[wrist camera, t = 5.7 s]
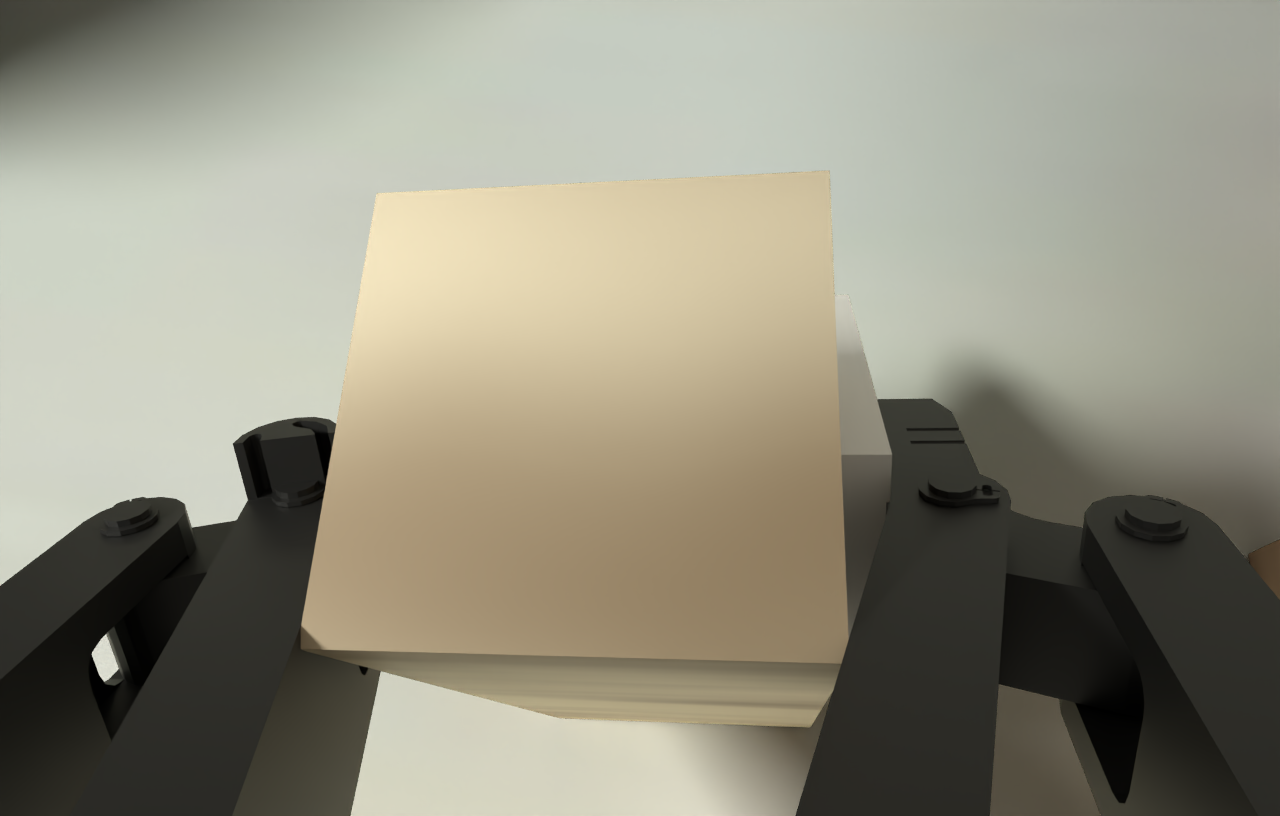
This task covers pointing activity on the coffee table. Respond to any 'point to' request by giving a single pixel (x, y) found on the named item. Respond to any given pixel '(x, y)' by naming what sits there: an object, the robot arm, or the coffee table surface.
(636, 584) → the beech block
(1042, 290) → the coffee table surface
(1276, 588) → the walnut block
